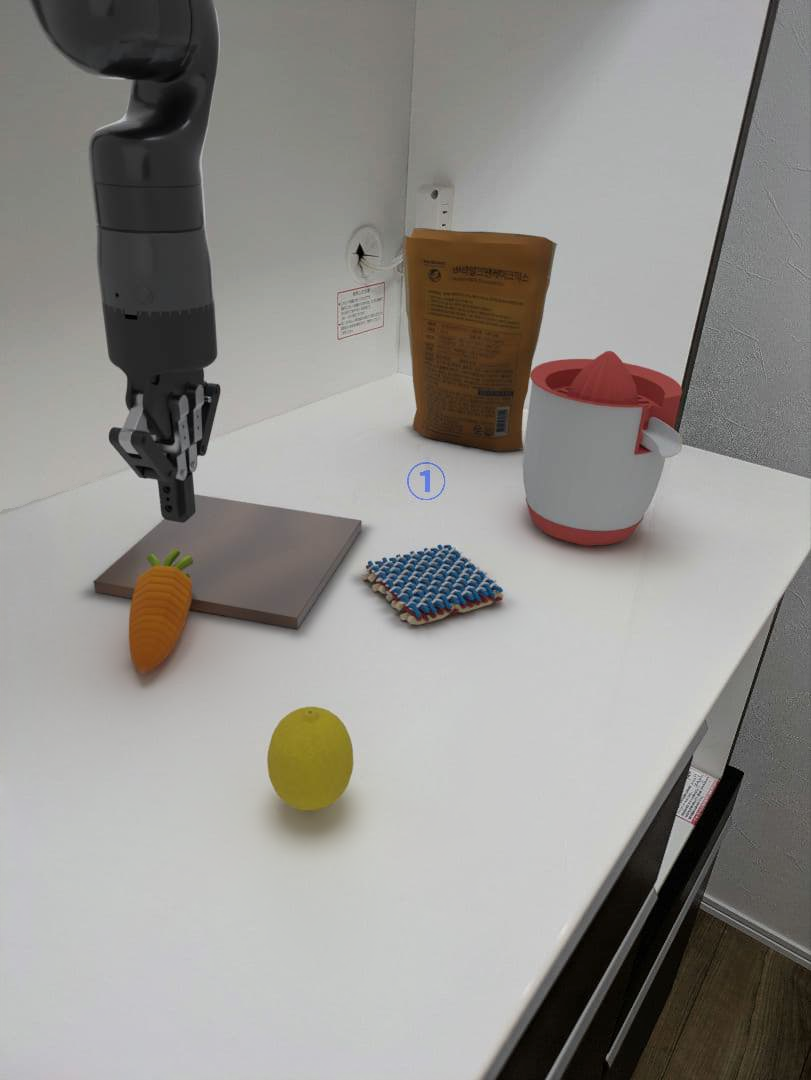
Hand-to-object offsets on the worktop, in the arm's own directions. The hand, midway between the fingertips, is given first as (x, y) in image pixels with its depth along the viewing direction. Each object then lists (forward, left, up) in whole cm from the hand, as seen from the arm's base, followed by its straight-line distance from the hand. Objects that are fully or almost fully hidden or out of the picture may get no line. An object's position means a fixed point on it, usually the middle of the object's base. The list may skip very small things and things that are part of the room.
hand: (178, 517), depth 65 cm
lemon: (+16, -15, -12) cm, 25 cm away
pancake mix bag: (+14, +54, -12) cm, 57 cm away
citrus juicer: (+32, +33, -12) cm, 48 cm away
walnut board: (-2, +14, -12) cm, 19 cm away
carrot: (0, -7, -10) cm, 13 cm away
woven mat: (+18, +14, -12) cm, 26 cm away
